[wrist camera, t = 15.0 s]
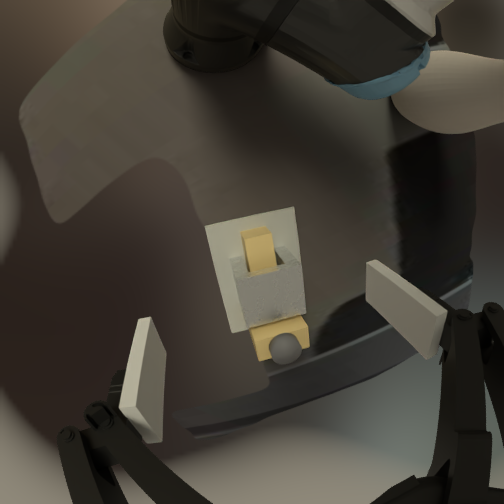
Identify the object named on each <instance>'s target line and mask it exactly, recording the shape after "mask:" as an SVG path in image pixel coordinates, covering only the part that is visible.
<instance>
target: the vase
mask: <svg viewBox="0 0 504 504" xmlns="http://www.w3.org/2000/svg"><path fill="white" fill-rule="evenodd" d="M419 72H420V75H419V76H418V77H417V79H416V80H414V81H413V82H412V83H411V84H410V85H408V86H407V87H406V88H404V89H402V90H401V91H399V92H397V93H395V94H393V95H391V98H392V101H393V104H394V106H395V107H396V109H397V110H398V111H399V112H400V114H401V115H402V116H404V117H405V118H406V119H408V120H409V121H411V122H412V123H414V124H416V125H418V126H420V127H422V128H424V129H427V130H430V131H434V132H438V133H445V134H459V133H466V132H470V131H474V130H478V129H482V128H485V127H488V126H491V125H494V124H498V123H502V122H504V60H500V59H492V58H486V57H481V56H476V55H471V54H467V53H461V52H454V51H431V52H430V59H429V62H428V64H427V66H426V68H424V69H421V70H420V71H419Z"/></svg>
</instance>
